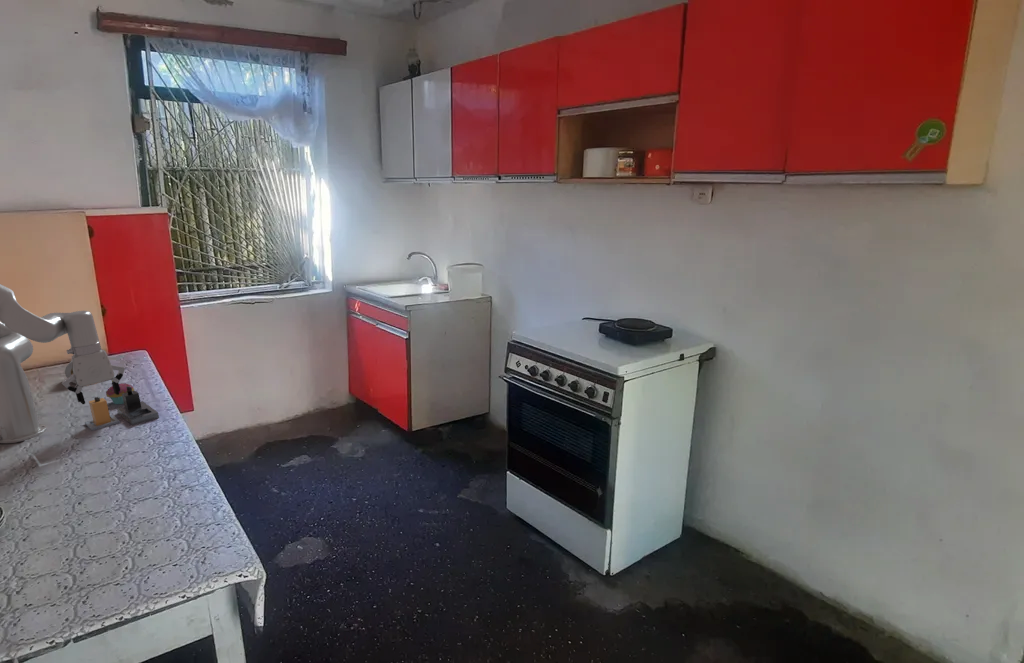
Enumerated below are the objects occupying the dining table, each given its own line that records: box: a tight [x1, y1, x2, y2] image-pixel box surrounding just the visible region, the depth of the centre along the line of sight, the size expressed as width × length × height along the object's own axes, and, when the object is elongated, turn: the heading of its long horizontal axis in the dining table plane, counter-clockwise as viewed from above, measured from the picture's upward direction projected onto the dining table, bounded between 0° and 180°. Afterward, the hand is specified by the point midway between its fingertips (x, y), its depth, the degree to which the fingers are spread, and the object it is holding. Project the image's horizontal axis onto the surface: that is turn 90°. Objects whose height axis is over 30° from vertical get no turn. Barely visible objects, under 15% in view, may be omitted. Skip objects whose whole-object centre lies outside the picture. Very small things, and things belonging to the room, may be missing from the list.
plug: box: [88, 396, 111, 426], centre depth 194 cm, size 4×4×9 cm
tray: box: [84, 414, 121, 431], centre depth 195 cm, size 8×8×1 cm
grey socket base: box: [116, 386, 160, 426], centre depth 200 cm, size 16×8×10 cm, turn 48°
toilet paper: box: [64, 360, 77, 385], centre depth 239 cm, size 10×10×10 cm
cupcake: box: [105, 380, 135, 405], centre depth 213 cm, size 9×8×12 cm
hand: (100, 398), depth 193 cm, fingers open, 9 cm apart
